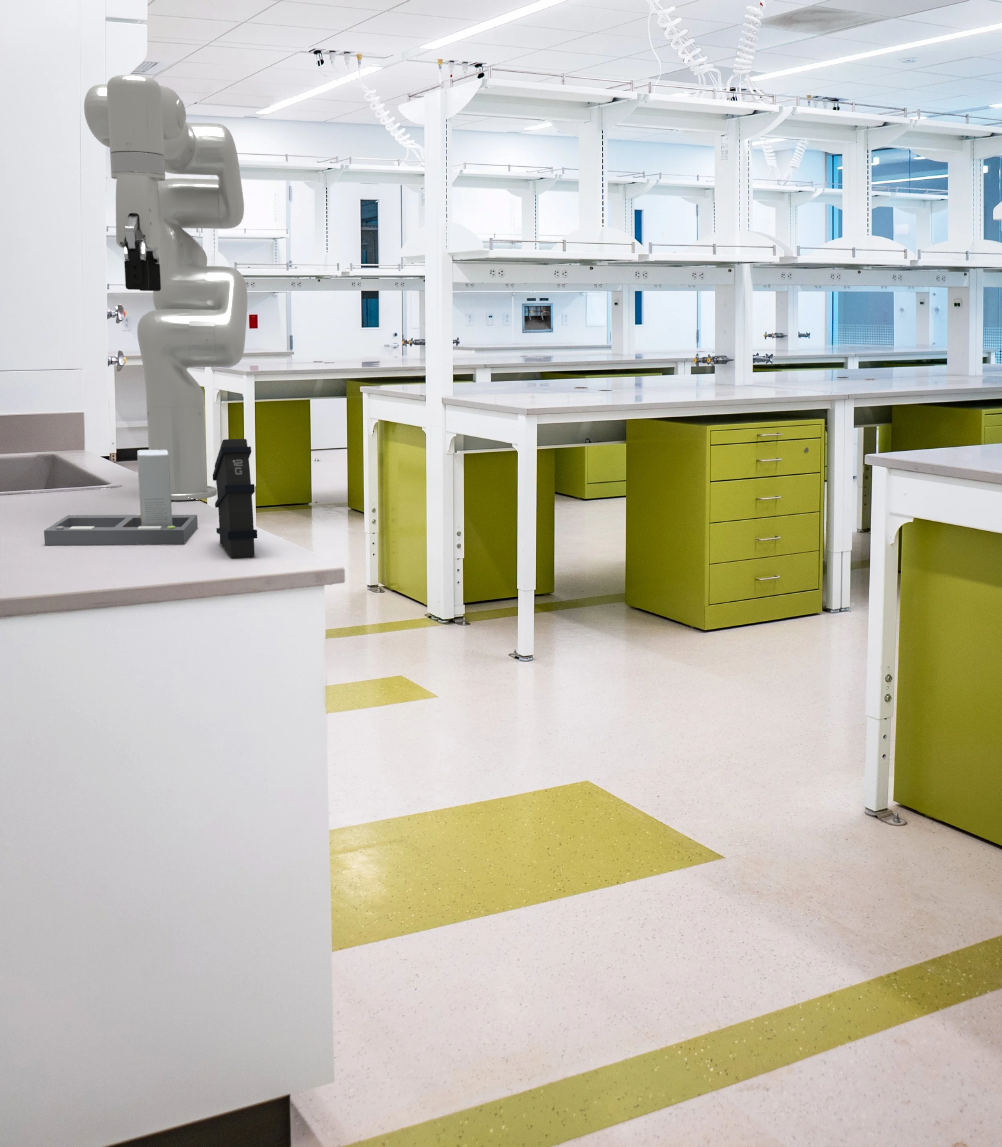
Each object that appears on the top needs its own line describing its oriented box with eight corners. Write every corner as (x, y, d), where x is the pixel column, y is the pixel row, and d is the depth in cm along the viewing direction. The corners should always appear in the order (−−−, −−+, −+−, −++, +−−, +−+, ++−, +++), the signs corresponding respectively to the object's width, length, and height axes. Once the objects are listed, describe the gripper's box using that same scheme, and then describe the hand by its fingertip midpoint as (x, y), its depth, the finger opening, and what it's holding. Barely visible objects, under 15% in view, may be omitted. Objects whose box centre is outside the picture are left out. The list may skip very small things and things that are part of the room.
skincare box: (141, 533, 170) (136, 449, 168) (171, 532, 172) (168, 449, 169) (141, 540, 165) (137, 454, 162) (173, 539, 166) (169, 453, 164)
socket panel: (68, 528, 173) (67, 513, 173) (197, 528, 175) (197, 512, 175) (44, 545, 160) (43, 528, 160) (184, 544, 162) (183, 527, 162)
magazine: (231, 550, 150) (220, 438, 153) (220, 575, 162) (210, 471, 165) (261, 549, 151) (250, 437, 154) (248, 574, 163) (237, 470, 166)
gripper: (123, 174, 180) (129, 290, 183) (97, 160, 163) (104, 288, 167) (174, 175, 180) (179, 291, 184) (153, 161, 164) (159, 289, 167)
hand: (143, 290), depth 175 cm, fingers open, 9 cm apart
